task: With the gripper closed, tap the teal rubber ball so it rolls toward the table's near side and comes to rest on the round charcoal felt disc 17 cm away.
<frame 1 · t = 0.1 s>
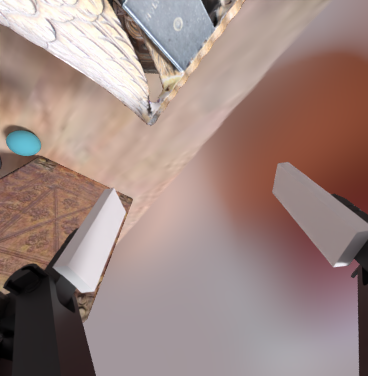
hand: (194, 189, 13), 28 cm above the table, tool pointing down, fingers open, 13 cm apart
bird statue: (167, 43, 29), on the table
book: (87, 190, 47), on the table
ball: (24, 143, 36), on the table
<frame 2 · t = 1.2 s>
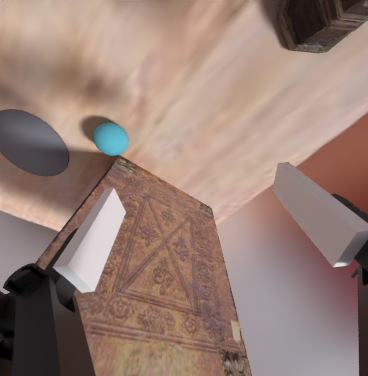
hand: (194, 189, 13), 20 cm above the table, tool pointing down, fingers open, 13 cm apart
bird statue: (336, 9, 22), on the table
book: (160, 197, 39), on the table
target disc: (31, 146, 31), on the table
ball: (111, 139, 28), on the table
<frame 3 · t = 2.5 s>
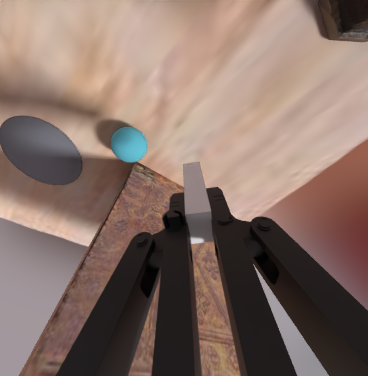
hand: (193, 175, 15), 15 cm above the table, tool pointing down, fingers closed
book: (178, 203, 37), on the table
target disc: (43, 154, 29), on the table
ball: (129, 145, 26), on the table
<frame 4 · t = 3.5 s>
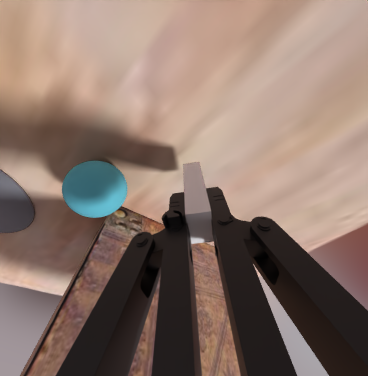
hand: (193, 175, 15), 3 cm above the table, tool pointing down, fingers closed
book: (177, 251, 27), on the table
ball: (97, 189, 16), on the table
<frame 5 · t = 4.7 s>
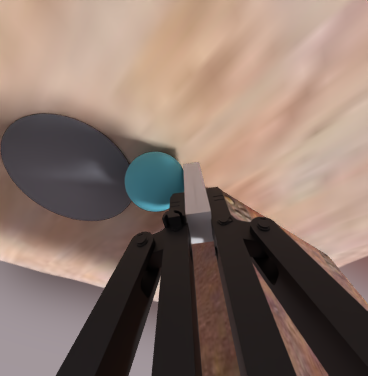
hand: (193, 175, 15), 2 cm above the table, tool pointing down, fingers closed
book: (258, 243, 26), on the table
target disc: (74, 177, 18), on the table
ball: (156, 181, 15), on the table
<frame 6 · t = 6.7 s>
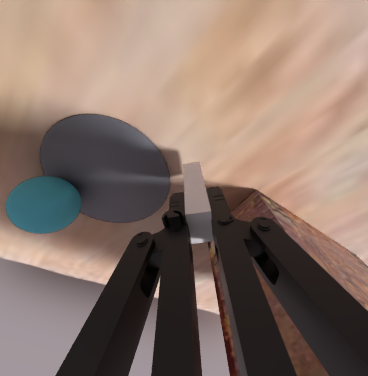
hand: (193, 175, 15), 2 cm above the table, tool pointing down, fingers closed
book: (287, 244, 25), on the table
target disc: (109, 179, 17), on the table
ball: (47, 204, 16), on the table
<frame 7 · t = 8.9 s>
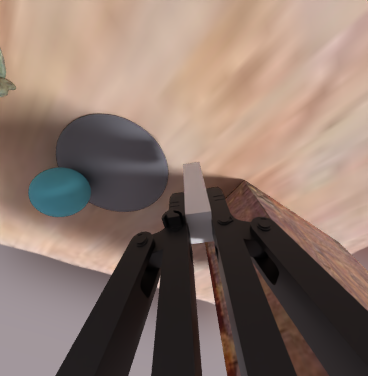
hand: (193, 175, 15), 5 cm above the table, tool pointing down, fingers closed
book: (275, 232, 28), on the table
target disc: (115, 171, 20), on the table
ball: (62, 192, 18), on the table
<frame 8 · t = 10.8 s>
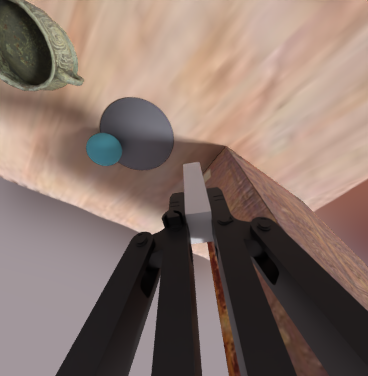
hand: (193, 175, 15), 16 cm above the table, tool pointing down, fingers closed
book: (252, 190, 37), on the table
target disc: (137, 138, 29), on the table
vessel: (50, 53, 23), on the table
ball: (104, 149, 28), on the table
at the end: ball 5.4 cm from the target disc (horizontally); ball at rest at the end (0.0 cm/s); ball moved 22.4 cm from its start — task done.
